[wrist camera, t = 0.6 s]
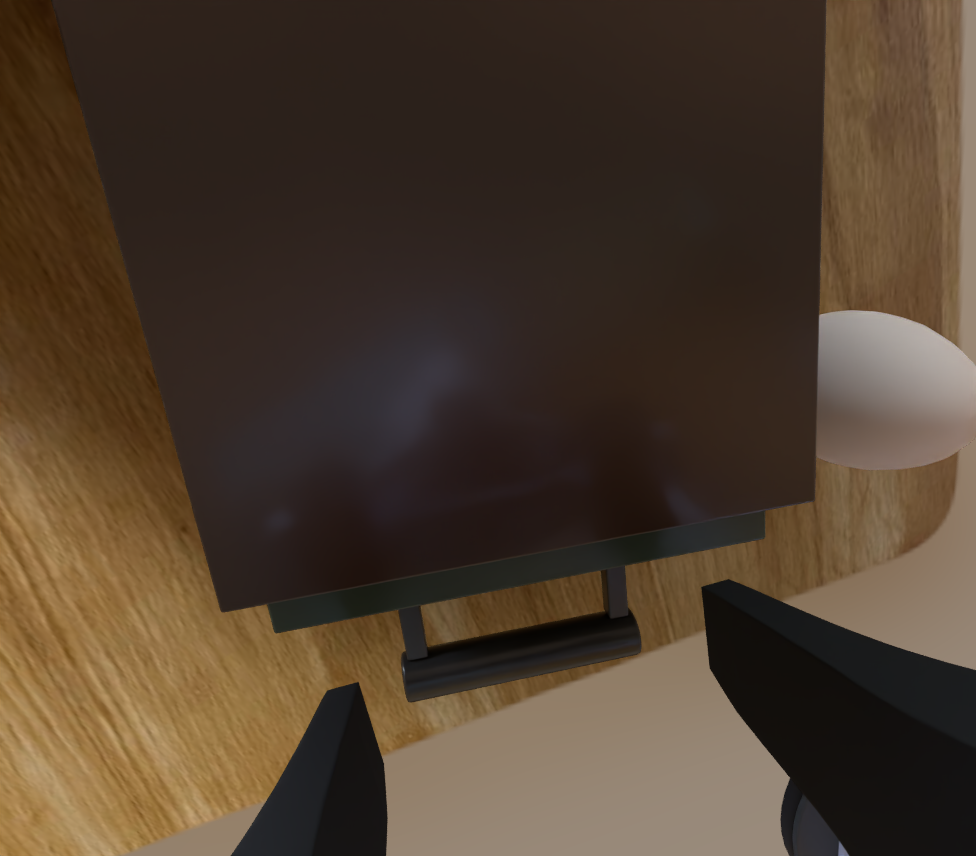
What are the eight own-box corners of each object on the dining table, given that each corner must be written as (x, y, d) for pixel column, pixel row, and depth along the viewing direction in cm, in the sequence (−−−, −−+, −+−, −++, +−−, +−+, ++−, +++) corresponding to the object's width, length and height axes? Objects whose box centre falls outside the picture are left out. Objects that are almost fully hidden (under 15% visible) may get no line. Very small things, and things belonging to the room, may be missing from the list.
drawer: (656, 581, 22) (766, 711, 16) (342, 644, 21) (319, 813, 14) (624, 7, 17) (766, -155, 11) (209, 41, 16) (82, -118, 9)
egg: (699, 349, 21) (855, 389, 14) (814, 278, 21) (1028, 283, 14) (750, 456, 22) (915, 542, 15) (858, 390, 22) (1072, 445, 15)
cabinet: (653, 413, 21) (816, 502, 13) (291, 472, 20) (219, 614, 12) (627, -73, 17) (837, -378, 9) (174, -42, 16) (-54, -371, 8)
